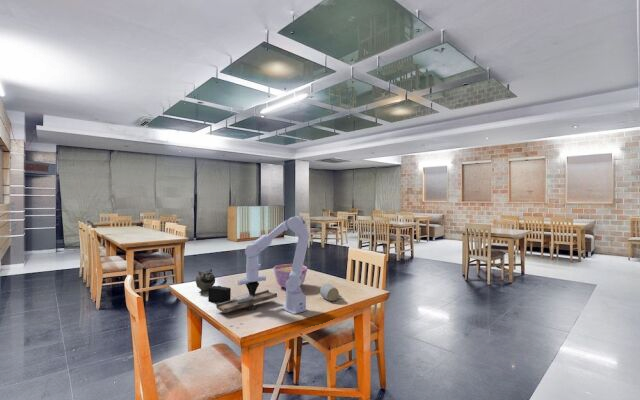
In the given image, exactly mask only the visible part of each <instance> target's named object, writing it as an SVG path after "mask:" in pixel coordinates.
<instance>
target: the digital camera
mask: <svg viewBox="0 0 640 400" xmlns="http://www.w3.org/2000/svg"><path fill="white" fill-rule="evenodd" d="M231 291H232V289H231V287H226V286H221V285H218V286H217V285H213V286H212V287H209V290H208V293H207V294H208V298H207V299H208V301H207V302H210V303H211V302H212V303H216V304H219V303H223V302H226V301H230V300H232V299H231V297H232V296H231V295H232V294H231Z"/></svg>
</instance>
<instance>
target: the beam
mask: <svg viewBox="0 0 640 400" xmlns="http://www.w3.org/2000/svg"><path fill="white" fill-rule="evenodd" d="M277 297H278V293H277V292H276V293H275V292H271V291H270V290H269V289H266V290H262V291H258V292H255V296H254V298H253V300H251V301H247V302H244V303H241V304H237V305H236V304H234V303H233V299H231V300H230V301H226V302H223V303H216V309H217V310H219V311H220V312H222V313H224V314H226V313H230V312H232V311H235V310H236V311H237V310H239V309H242V308H245V307H246V306H249V305H253V304H254V305H256V304H258V303H262V302H265V301H268V300H271V299H275V298H277Z"/></svg>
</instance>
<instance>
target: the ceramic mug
mask: <svg viewBox="0 0 640 400" xmlns="http://www.w3.org/2000/svg"><path fill="white" fill-rule="evenodd" d="M319 294H320V295H321V297H322V299H325V300H327V301H329V302H335V301H336V300H338V299H339V300H340V299H342V295H341V294H340V292H339V290H338V288H337V287H335V286H334V285H332V284H330V283H325V284H322V286H321V287H320V289H319Z"/></svg>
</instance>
